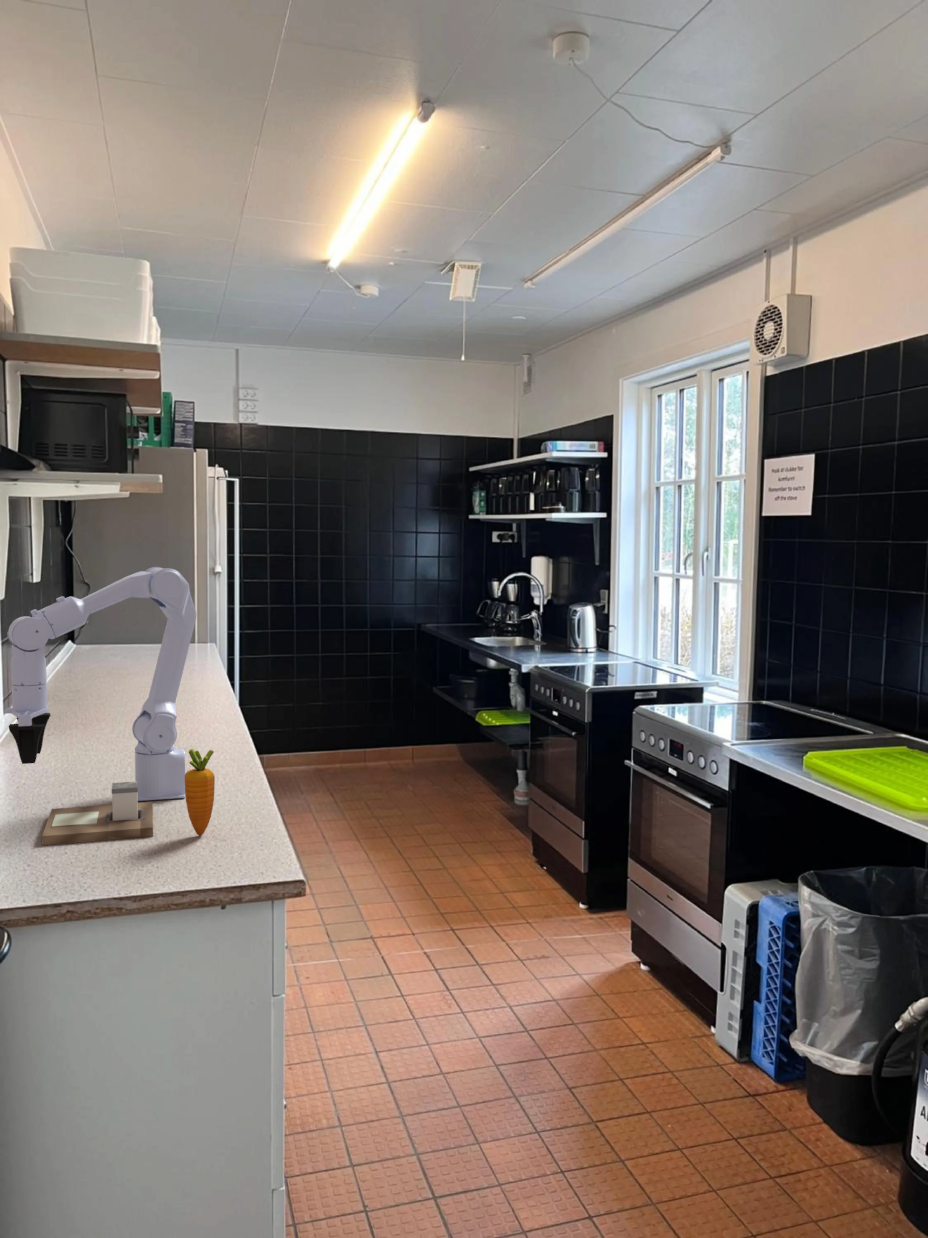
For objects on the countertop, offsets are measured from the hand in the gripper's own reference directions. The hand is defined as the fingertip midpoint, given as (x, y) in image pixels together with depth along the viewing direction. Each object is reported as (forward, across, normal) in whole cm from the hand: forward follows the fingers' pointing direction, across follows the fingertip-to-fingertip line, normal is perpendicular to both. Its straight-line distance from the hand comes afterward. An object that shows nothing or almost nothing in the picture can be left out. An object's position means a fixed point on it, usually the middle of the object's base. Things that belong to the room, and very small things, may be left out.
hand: (31, 758), depth 169 cm
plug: (+10, +13, +16) cm, 23 cm away
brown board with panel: (+10, +13, +12) cm, 20 cm away
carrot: (+10, +22, +28) cm, 38 cm away
